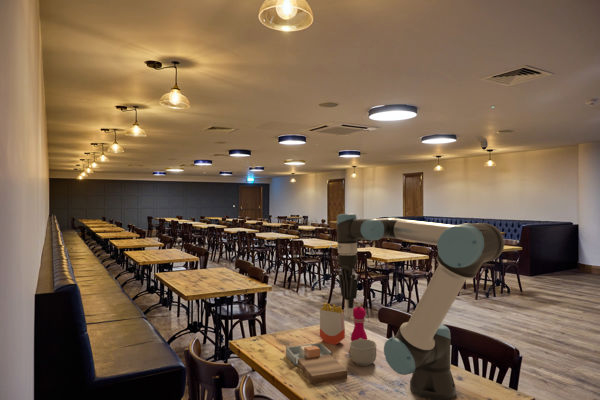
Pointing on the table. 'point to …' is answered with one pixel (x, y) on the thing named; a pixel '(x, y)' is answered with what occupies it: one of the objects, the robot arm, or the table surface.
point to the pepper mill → (358, 323)
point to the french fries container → (332, 324)
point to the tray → (294, 355)
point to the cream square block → (303, 351)
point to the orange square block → (312, 351)
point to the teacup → (363, 351)
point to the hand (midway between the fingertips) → (349, 316)
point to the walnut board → (322, 369)
